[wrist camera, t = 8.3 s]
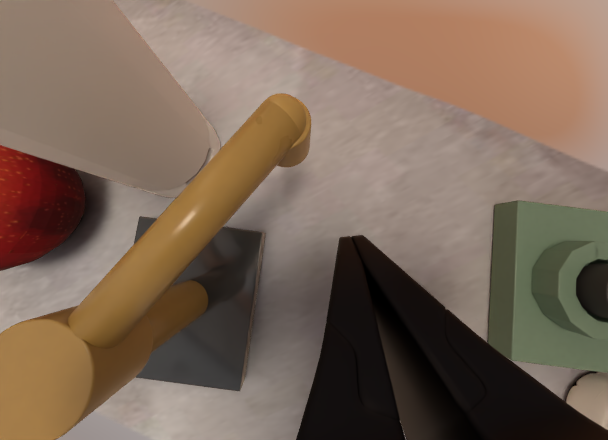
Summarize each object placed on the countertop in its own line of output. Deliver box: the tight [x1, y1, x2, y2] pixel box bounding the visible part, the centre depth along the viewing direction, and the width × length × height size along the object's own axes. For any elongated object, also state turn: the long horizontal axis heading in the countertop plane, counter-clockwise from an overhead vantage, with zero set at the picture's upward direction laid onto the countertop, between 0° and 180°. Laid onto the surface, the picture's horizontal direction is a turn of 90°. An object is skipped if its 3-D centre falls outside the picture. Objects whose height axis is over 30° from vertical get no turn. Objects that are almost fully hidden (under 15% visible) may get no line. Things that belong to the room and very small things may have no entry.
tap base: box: [134, 216, 266, 391], centre depth 15 cm, size 12×10×8 cm
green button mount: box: [488, 201, 608, 373], centre depth 17 cm, size 12×9×4 cm
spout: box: [0, 94, 311, 440], centre depth 10 cm, size 16×4×3 cm, turn 140°
